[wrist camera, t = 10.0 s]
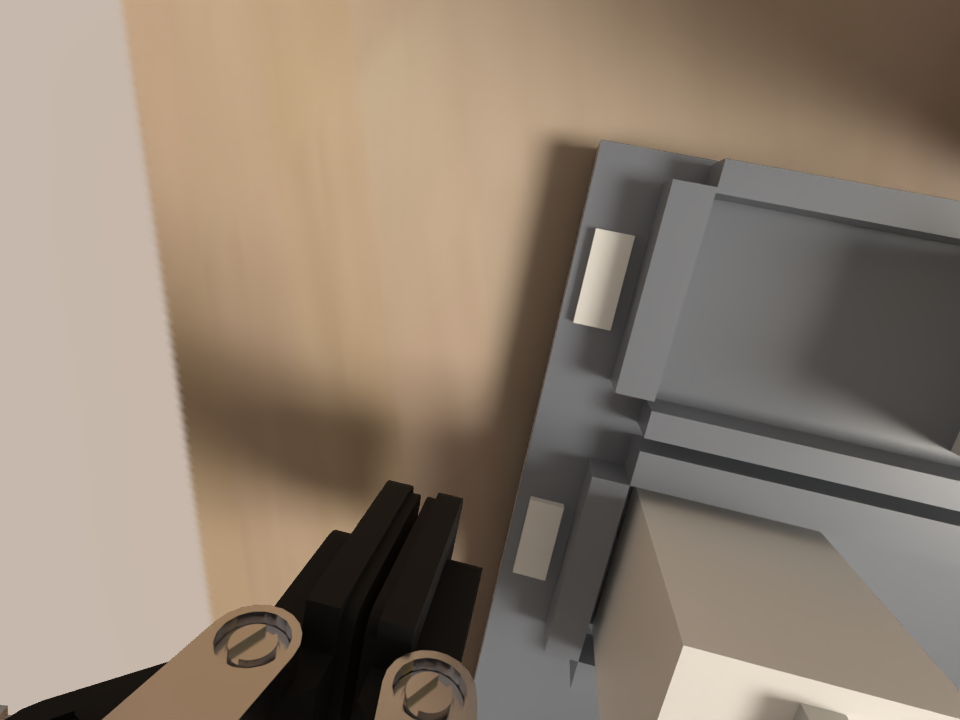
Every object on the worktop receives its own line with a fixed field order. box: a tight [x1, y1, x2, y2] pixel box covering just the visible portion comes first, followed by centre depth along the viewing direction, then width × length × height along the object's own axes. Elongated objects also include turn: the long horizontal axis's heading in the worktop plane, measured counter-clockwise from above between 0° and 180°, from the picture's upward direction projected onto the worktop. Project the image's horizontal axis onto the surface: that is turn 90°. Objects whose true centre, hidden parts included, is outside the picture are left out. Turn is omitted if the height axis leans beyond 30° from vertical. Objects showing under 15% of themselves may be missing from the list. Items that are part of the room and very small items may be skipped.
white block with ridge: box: [592, 487, 960, 720], centre depth 10 cm, size 4×4×6 cm
